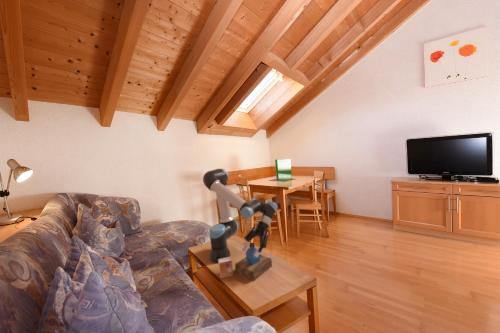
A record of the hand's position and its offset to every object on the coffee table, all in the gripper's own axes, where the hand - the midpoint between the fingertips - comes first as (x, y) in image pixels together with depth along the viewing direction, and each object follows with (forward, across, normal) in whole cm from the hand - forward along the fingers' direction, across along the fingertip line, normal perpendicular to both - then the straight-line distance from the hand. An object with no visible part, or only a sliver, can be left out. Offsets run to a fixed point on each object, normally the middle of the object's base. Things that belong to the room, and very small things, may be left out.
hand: (249, 253), depth 142 cm
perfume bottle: (+3, 0, -7) cm, 7 cm away
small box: (+18, +9, +1) cm, 20 cm away
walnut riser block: (+7, 0, -11) cm, 13 cm away
